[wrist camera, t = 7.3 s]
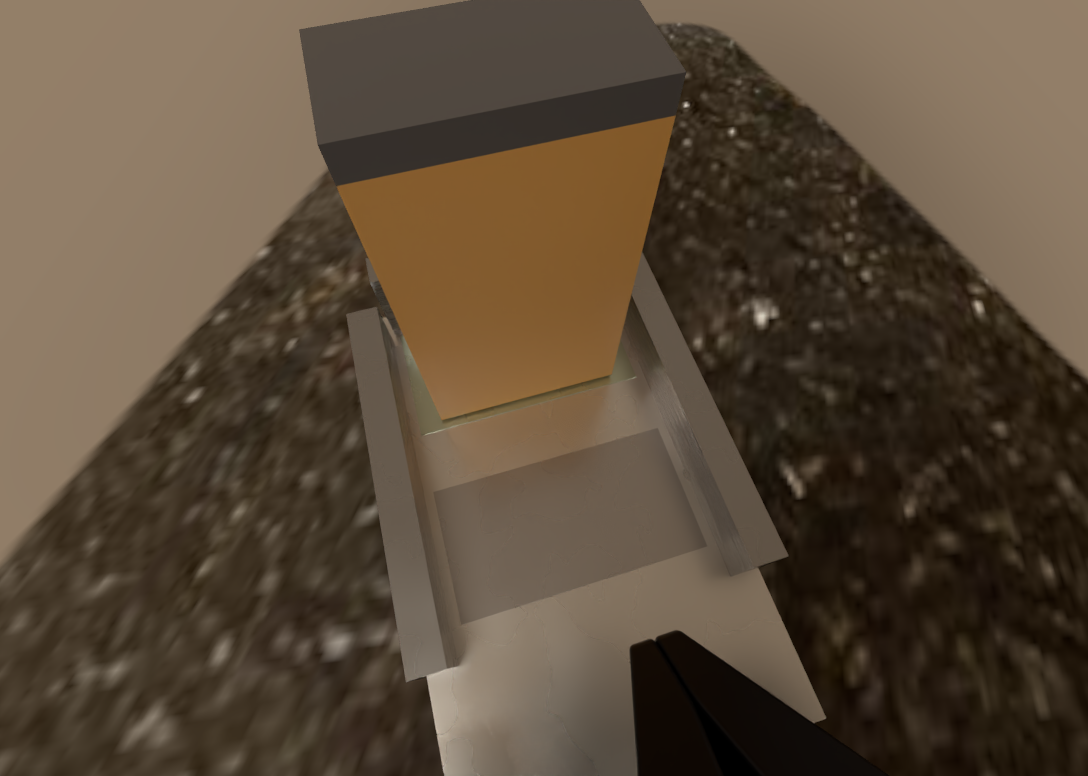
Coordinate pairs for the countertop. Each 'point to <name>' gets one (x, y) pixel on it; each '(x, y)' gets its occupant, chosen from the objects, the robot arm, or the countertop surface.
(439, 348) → the tan tall block
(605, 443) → the gray rectangular tray
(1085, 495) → the countertop surface
